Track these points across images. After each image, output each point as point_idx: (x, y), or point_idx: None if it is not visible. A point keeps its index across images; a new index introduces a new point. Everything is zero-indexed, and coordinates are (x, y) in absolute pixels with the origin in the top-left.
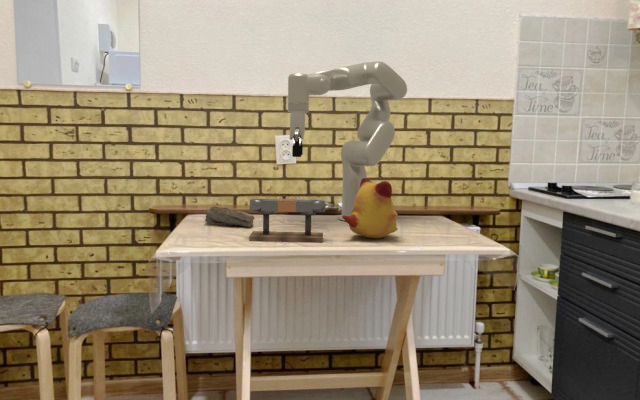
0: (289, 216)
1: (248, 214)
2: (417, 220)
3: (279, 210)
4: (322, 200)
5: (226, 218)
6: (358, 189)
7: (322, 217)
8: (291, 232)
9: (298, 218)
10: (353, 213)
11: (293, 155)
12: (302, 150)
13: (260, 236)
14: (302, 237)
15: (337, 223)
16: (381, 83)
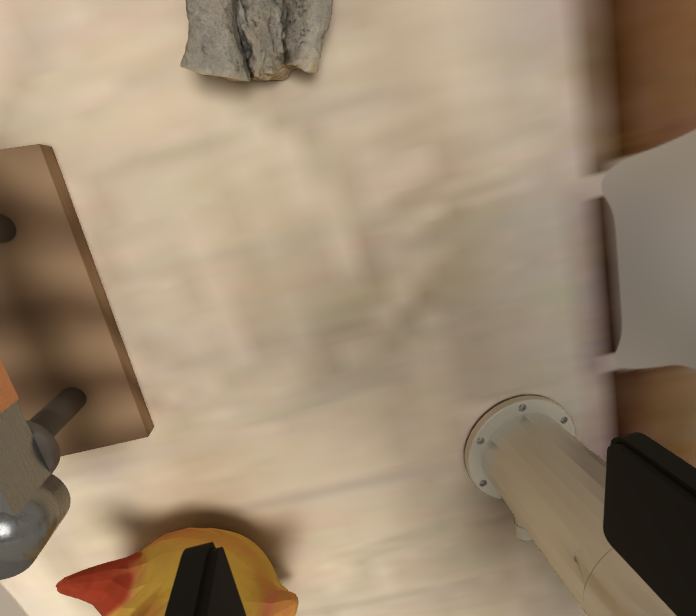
0: (550, 197)
1: (205, 48)
2: (530, 606)
3: None
4: (24, 560)
5: None
6: (557, 572)
7: (544, 334)
8: (91, 326)
9: (508, 247)
10: (126, 609)
11: (188, 574)
12: (668, 602)
13: None
14: None
15: (430, 412)
16: None
